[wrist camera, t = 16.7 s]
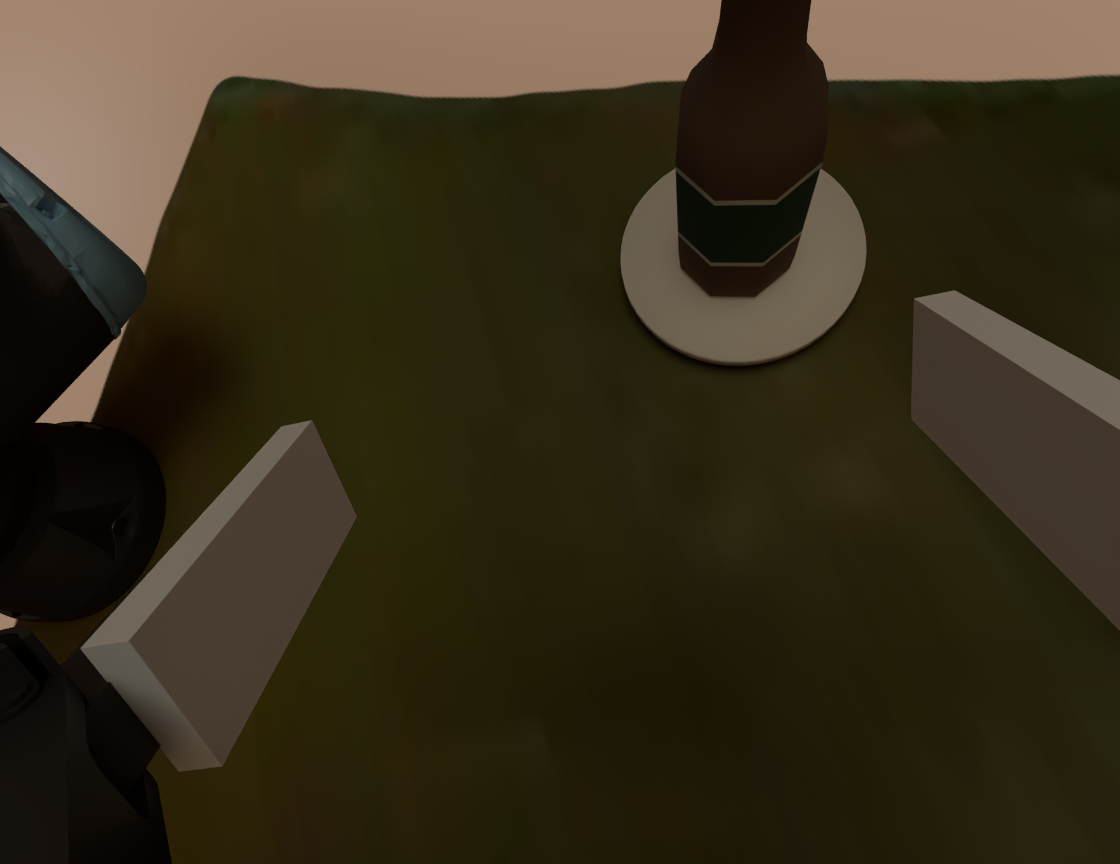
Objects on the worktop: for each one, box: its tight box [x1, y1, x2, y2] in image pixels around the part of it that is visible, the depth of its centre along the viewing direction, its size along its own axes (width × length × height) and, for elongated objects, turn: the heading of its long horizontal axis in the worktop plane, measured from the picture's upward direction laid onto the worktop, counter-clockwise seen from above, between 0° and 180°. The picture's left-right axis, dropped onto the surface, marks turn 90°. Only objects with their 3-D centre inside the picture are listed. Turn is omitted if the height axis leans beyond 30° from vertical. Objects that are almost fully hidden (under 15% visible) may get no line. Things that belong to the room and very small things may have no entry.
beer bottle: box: [675, 0, 828, 297], centre depth 32 cm, size 8×8×24 cm
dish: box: [621, 169, 866, 366], centre depth 44 cm, size 16×16×2 cm
